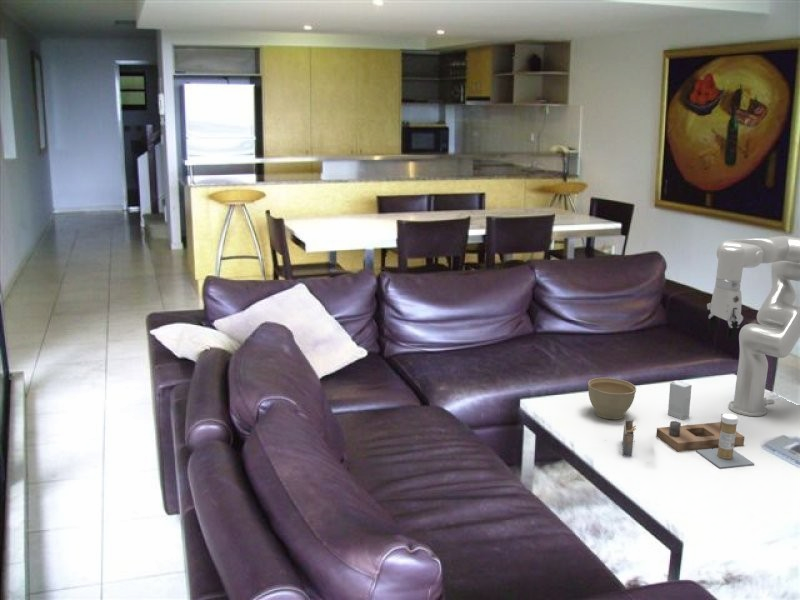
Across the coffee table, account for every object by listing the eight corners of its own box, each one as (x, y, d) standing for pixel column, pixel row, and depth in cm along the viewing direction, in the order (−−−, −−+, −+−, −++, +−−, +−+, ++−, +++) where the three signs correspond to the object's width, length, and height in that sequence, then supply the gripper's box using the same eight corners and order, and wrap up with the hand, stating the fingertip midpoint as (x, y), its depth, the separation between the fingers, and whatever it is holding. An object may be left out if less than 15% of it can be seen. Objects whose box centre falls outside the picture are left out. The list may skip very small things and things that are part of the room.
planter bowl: (626, 427, 265) (629, 397, 262) (579, 417, 273) (582, 387, 270) (638, 411, 279) (641, 382, 276) (593, 402, 286) (595, 374, 284)
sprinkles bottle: (724, 452, 246) (729, 412, 243) (736, 458, 242) (741, 417, 239) (713, 454, 244) (718, 414, 241) (725, 460, 240) (730, 419, 237)
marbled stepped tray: (633, 457, 244) (635, 428, 241) (622, 456, 244) (625, 427, 242) (632, 443, 254) (635, 414, 252) (622, 441, 255) (625, 413, 253)
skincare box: (689, 417, 275) (693, 384, 272) (682, 420, 272) (686, 387, 269) (673, 411, 279) (677, 379, 276) (666, 414, 277) (669, 382, 274)
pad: (729, 448, 251) (729, 446, 250) (754, 465, 239) (754, 463, 239) (695, 451, 248) (696, 450, 248) (719, 468, 236) (719, 467, 236)
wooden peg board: (720, 430, 264) (723, 408, 262) (743, 445, 253) (746, 422, 251) (656, 436, 258) (658, 413, 256) (677, 452, 247) (679, 428, 245)
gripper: (755, 289, 248) (748, 341, 252) (721, 277, 264) (715, 326, 269) (734, 290, 246) (728, 343, 251) (701, 278, 263) (695, 328, 267)
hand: (721, 334), depth 260 cm, fingers open, 9 cm apart
